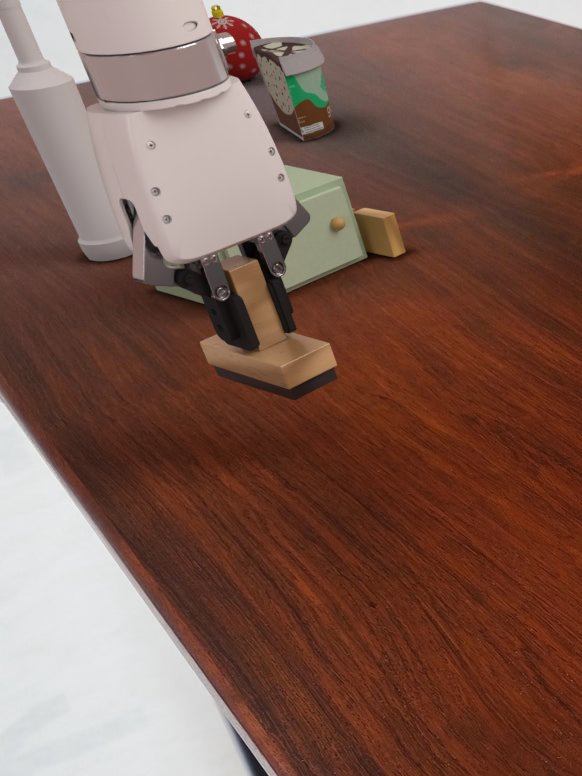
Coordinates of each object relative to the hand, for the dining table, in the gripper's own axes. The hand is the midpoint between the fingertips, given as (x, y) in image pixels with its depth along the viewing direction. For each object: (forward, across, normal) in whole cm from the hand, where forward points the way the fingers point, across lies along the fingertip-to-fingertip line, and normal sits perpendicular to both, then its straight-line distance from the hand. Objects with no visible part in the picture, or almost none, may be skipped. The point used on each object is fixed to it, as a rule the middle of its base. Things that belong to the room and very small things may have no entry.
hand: (260, 335), depth 91 cm
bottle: (+8, -16, -49) cm, 52 cm away
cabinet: (+8, -19, -30) cm, 37 cm away
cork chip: (+6, -27, -24) cm, 36 cm away
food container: (+8, -52, -65) cm, 84 cm away
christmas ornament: (+8, -62, -94) cm, 113 cm away
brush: (+3, 0, 0) cm, 3 cm away
